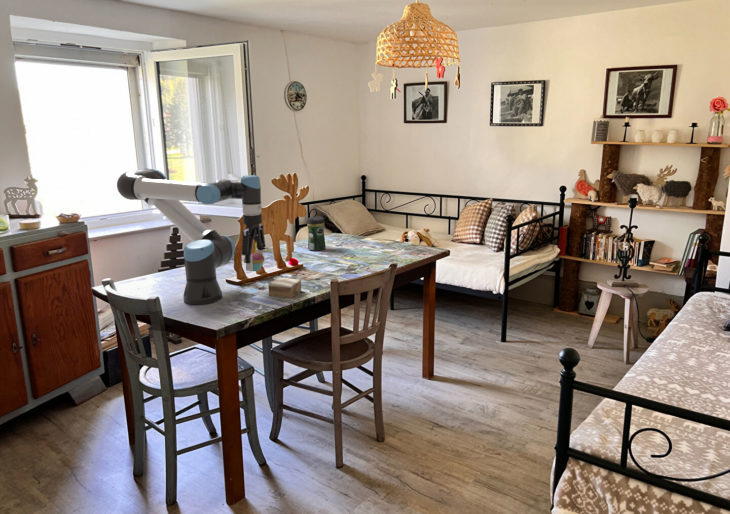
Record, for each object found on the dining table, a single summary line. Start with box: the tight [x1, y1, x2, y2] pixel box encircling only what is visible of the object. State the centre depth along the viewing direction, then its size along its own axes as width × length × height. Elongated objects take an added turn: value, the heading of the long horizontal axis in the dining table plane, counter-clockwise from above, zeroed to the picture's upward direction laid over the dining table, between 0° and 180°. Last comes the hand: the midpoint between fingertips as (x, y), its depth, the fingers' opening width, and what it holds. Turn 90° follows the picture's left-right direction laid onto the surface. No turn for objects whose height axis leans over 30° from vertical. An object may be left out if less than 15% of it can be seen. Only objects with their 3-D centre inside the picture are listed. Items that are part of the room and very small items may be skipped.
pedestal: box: [267, 277, 302, 299], centre depth 227 cm, size 10×10×5 cm
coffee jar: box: [306, 216, 327, 252], centre depth 303 cm, size 10×8×19 cm
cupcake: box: [243, 242, 265, 272], centre depth 225 cm, size 9×8×12 cm
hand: (254, 267), depth 227 cm, fingers closed on cupcake, 8 cm apart
